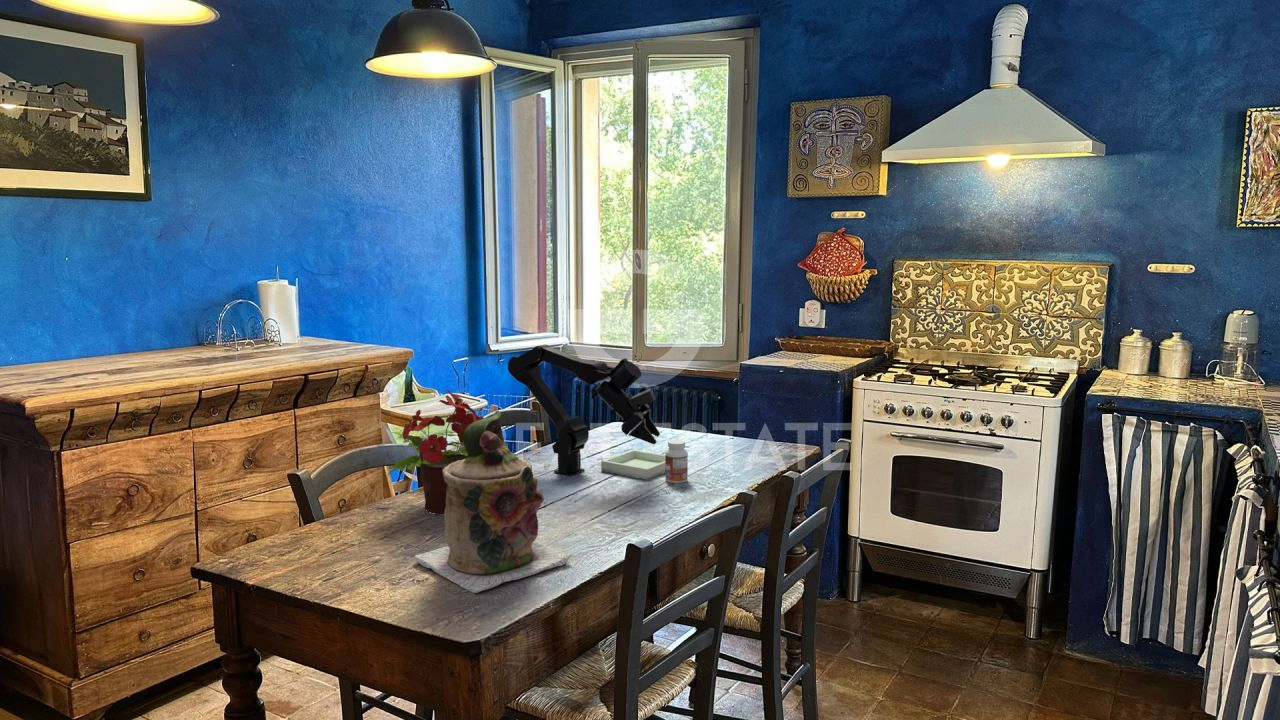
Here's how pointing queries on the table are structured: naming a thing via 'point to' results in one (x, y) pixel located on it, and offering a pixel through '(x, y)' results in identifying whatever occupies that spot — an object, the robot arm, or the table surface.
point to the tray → (635, 464)
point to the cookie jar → (490, 515)
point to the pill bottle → (676, 462)
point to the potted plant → (436, 451)
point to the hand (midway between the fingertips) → (657, 439)
